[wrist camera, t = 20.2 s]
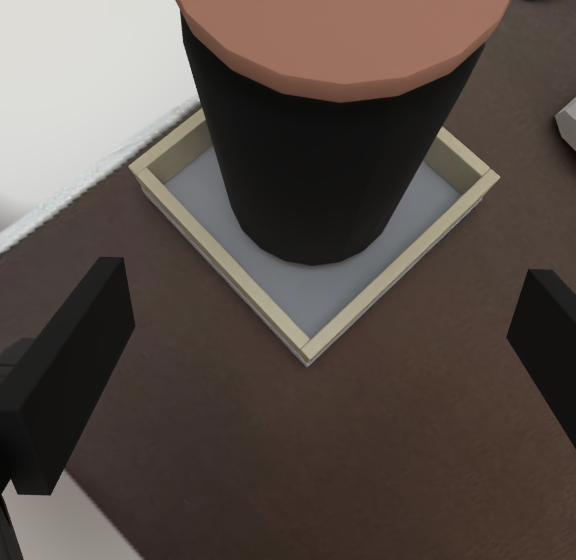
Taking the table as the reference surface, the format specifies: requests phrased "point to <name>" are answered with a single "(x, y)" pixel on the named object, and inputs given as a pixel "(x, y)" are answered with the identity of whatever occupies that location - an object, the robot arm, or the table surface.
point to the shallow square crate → (298, 277)
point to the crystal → (568, 123)
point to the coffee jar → (327, 108)
